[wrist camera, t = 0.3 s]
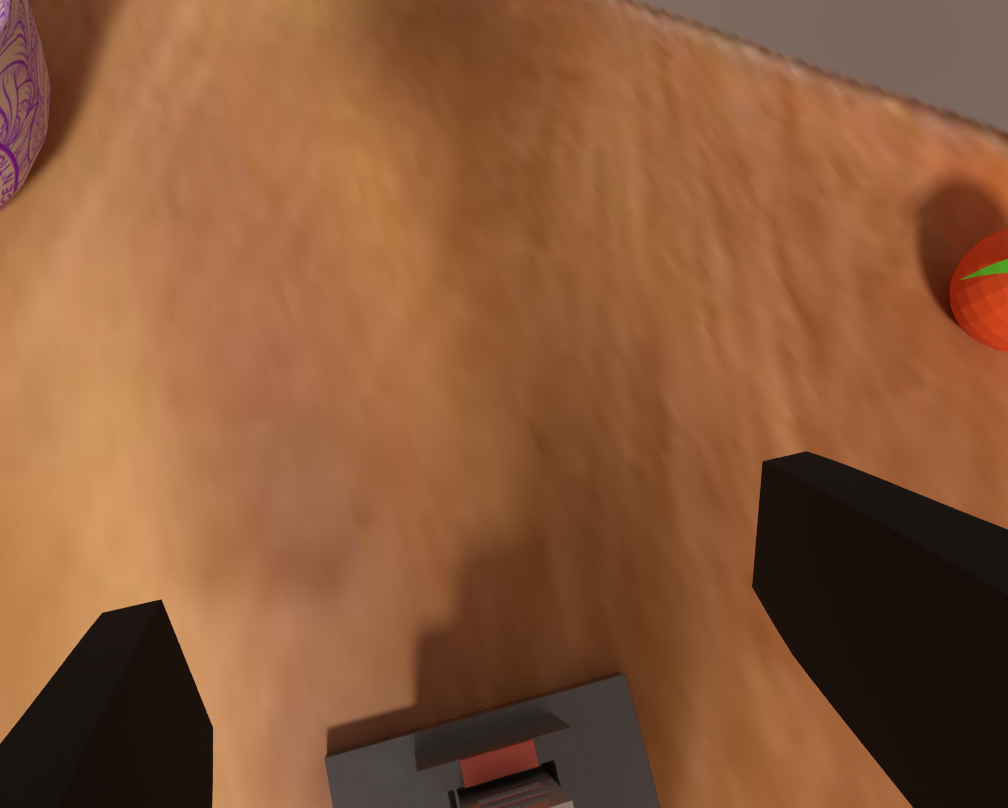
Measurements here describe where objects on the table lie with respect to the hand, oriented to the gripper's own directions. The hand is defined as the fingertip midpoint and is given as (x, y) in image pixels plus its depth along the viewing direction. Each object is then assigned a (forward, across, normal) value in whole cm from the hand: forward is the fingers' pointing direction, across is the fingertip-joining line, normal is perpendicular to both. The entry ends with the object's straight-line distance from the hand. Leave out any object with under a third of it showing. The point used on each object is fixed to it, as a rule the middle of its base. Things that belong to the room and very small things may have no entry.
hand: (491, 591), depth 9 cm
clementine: (+27, -34, +13) cm, 46 cm away
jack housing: (+15, -1, +26) cm, 30 cm away
